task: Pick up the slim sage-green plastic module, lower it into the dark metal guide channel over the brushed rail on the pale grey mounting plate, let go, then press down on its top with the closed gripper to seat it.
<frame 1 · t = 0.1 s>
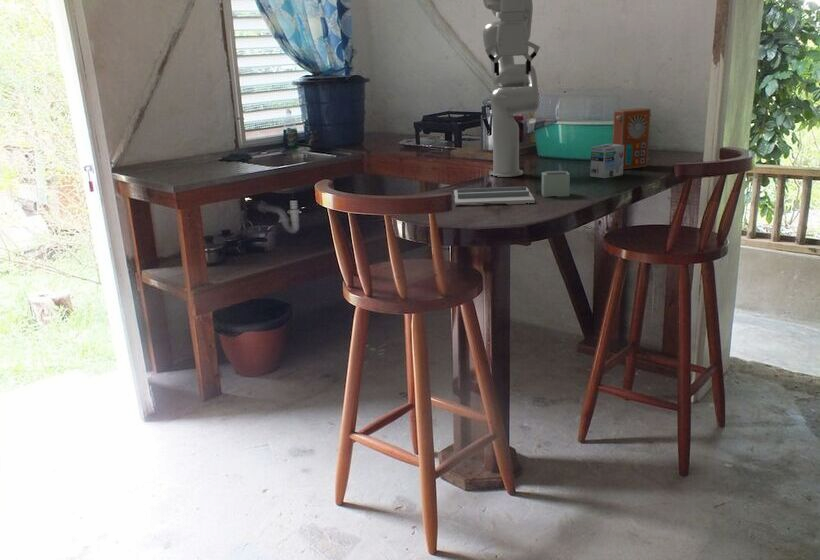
hand: (512, 74, 225), 37 cm above the worktop, tool pointing down, fingers open, 9 cm apart
module: (555, 195, 220), on the worktop
light bulb box: (606, 176, 248), on the worktop
rail plate: (492, 198, 219), on the worktop
control panel: (629, 167, 263), on the worktop
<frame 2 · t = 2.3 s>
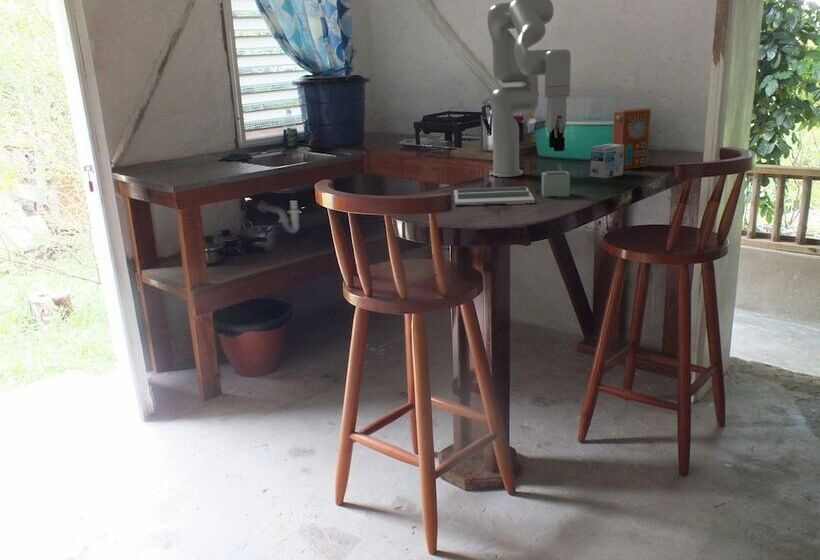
hand: (556, 149, 215), 14 cm above the worktop, tool pointing down, fingers open, 9 cm apart
nothing on the worktop moved.
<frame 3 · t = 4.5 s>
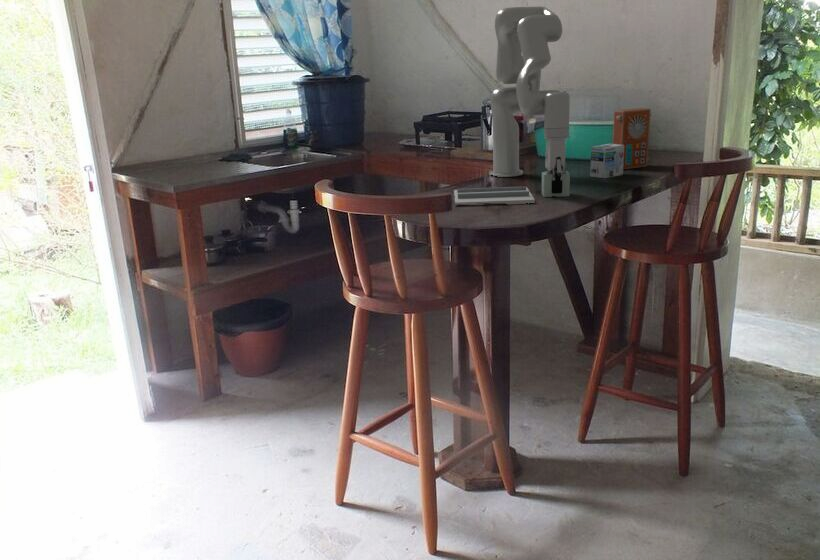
hand: (555, 190, 219), 1 cm above the worktop, tool pointing down, fingers closed on module, 5 cm apart
module: (555, 194, 220), on the worktop, touching gripper
everything else where it was.
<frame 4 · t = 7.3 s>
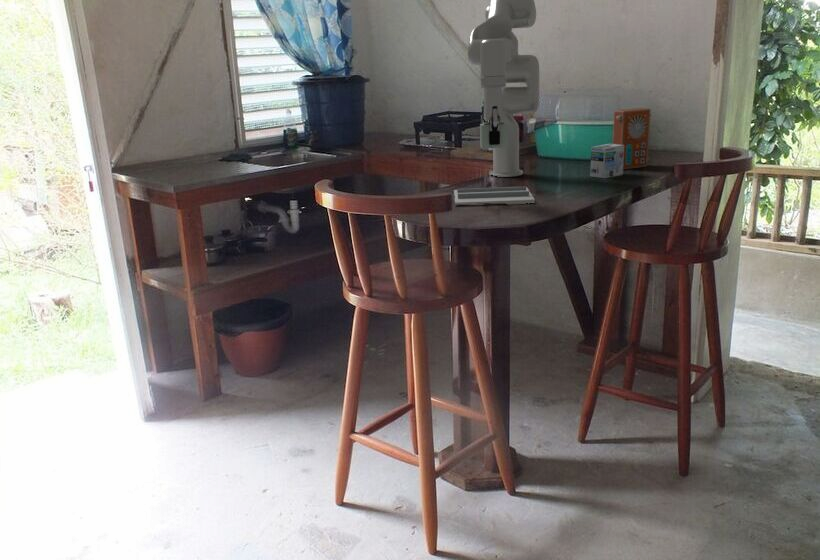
hand: (493, 142, 214), 17 cm above the worktop, tool pointing down, fingers closed on module, 5 cm apart
module: (493, 147, 214), point 16 cm above the worktop, touching gripper
everything else where it was.
when the fingers open (4 cm above the worktop, at t = 10.3 s): module stays where it is, resting on rail plate.
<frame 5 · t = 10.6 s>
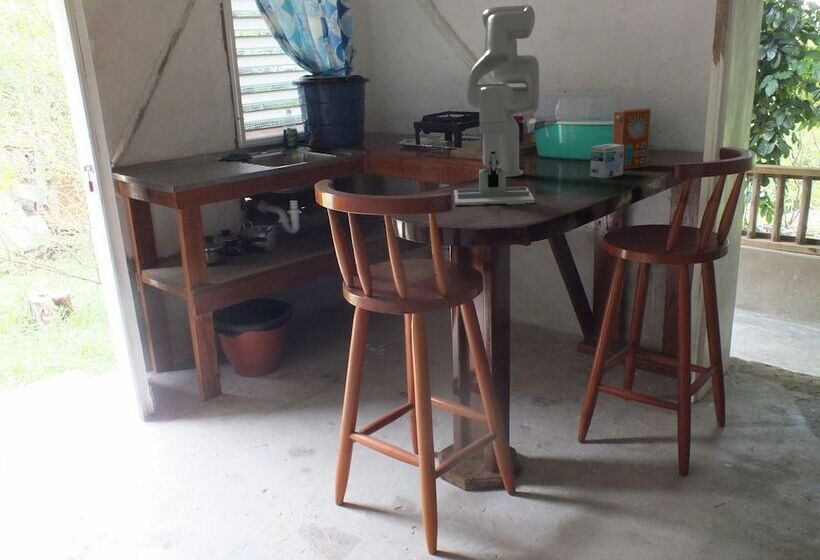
hand: (492, 184, 218), 4 cm above the worktop, tool pointing down, fingers open, 7 cm apart
module: (492, 192, 219), point 2 cm above the worktop, touching rail plate
everything else where it was.
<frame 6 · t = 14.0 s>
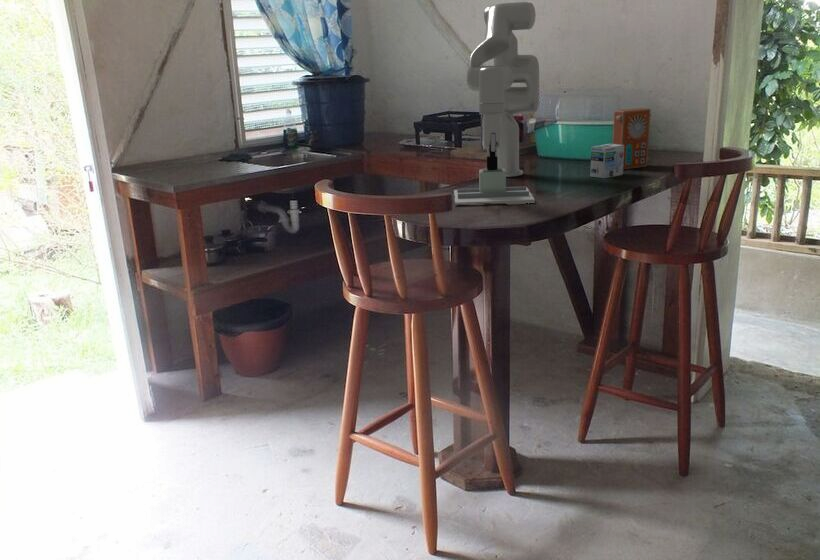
hand: (492, 169, 216), 9 cm above the worktop, tool pointing down, fingers closed
module: (492, 192, 219), point 2 cm above the worktop, touching gripper, rail plate
everything else where it was.
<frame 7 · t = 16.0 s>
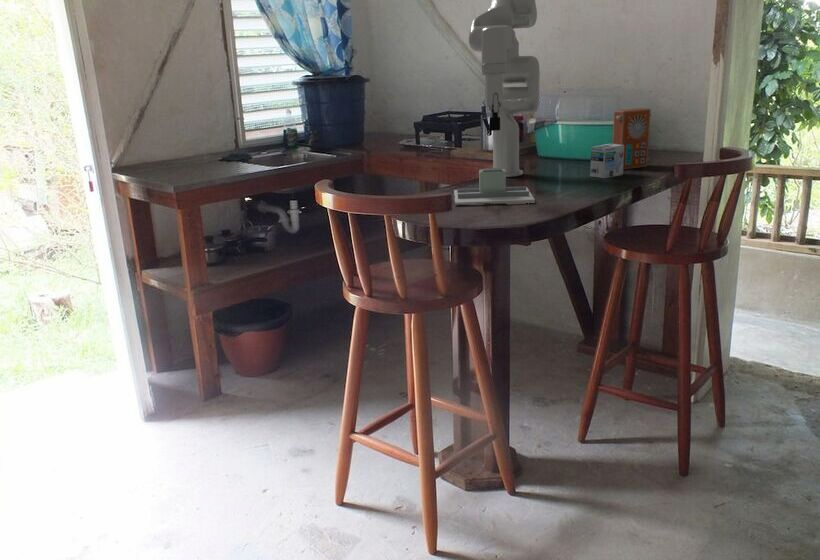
hand: (494, 130, 218), 21 cm above the worktop, tool pointing down, fingers closed
module: (492, 192, 219), point 2 cm above the worktop, touching rail plate
everything else where it was.
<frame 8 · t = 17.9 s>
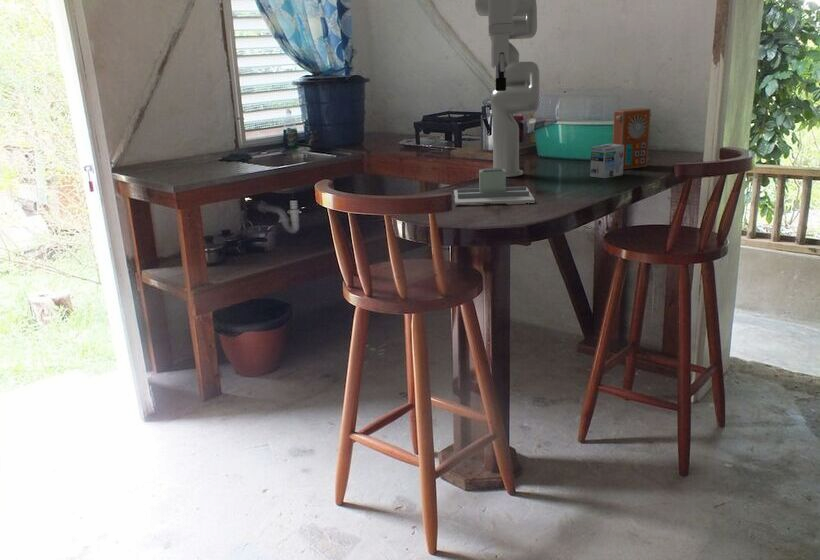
hand: (500, 90, 223), 32 cm above the worktop, tool pointing down, fingers closed
nothing on the worktop moved.
at the end: module inside the target area on the rail plate (0.2 cm from its centre), point 1.8 cm above the rail plate's base; module tilted 0°; the gripper is holding nothing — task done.
